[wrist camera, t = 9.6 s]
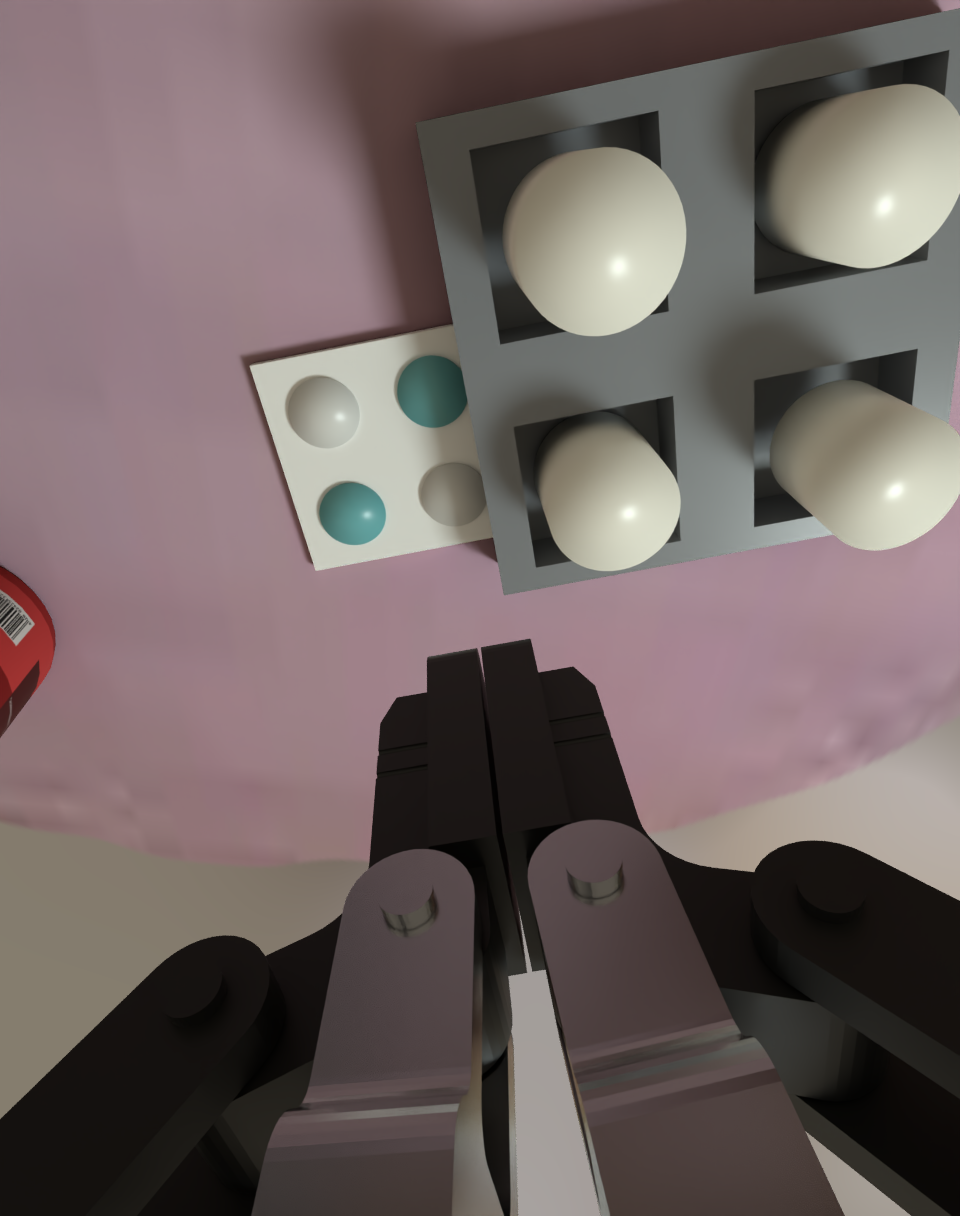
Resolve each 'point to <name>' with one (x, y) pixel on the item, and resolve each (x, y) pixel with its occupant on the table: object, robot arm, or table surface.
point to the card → (377, 446)
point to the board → (688, 293)
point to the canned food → (21, 645)
